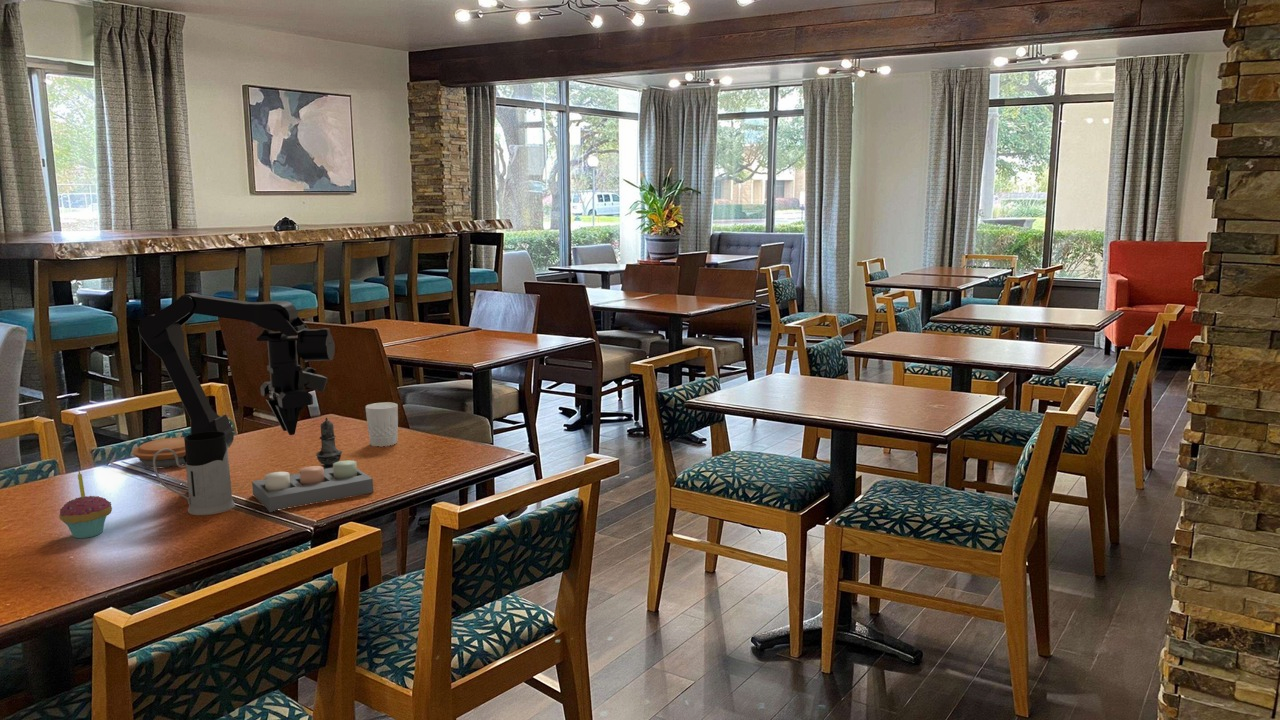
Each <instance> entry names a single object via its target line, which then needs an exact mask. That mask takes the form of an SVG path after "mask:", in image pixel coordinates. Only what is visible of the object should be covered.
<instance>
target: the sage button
mask: <svg viewBox="0 0 1280 720" xmlns="http://www.w3.org/2000/svg"><path fill="white" fill-rule="evenodd" d="M357 465H358V464H357V461H356V460H339V461H338V462H336V463H334V464H333V472H334V478H335V479H336V480H337V479H342V478H348V477H354V476H357V469H358V467H357Z"/></svg>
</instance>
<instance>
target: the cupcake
mask: <svg viewBox="0 0 1280 720" xmlns="http://www.w3.org/2000/svg"><path fill="white" fill-rule="evenodd" d="M77 472H78V474H77V479H78V485H79V492H80V496H79V497H76V498H74V499H73V498H72V499H71V500H69V501H68V502H66V503H65V504H64V505H63V506H62V507H61V508H60V509H59V517H58V518H59V520H60V521H61V522H63V523H64V524H65V525H66V526H67V527H68V529H69V532H70V533H71V535H72V537H73V538H75V539H87V538H93V537H95V536H99V535H100V534H102V533H103V531H104V526H105V522H106V518H107V516H110V514H111V513H112V510H113V507H112V502H111V501H109V500H108V499H106V498H104V497H103V496H101V497H100V496H98V495H87V496H86V493H85V492H86V491H85V487H84V481H83V474H82V473H81V470H80V469H78V470H77Z"/></svg>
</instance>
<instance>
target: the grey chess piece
mask: <svg viewBox="0 0 1280 720" xmlns="http://www.w3.org/2000/svg"><path fill="white" fill-rule="evenodd" d="M320 435H321V436H319V439H320V443H321V447H320V451H318V452H315V456H316V458H317V461H318V463H320V464H321V465H320V466H322V467H323V468H324V469H327V468H333V464H334V463H336V462H339V461H341V457H342V454H343V451H342V450H341V449H338V448H337V446H336V440H335V439H336V437H337V436H336V435H335V430H334V423H333V422H332V421H330V420H329V419H328V418H327V417H325V418H324V421H323V422H322V423H320Z"/></svg>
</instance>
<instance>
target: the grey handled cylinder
mask: <svg viewBox="0 0 1280 720" xmlns="http://www.w3.org/2000/svg"><path fill="white" fill-rule="evenodd" d="M184 441H185V452H186V464H184V465H179V461H178V456H177V454H176V453H175V452H174V451H173V450H171V449H167V448H165V449H161V450H159V451H158V452H157V453H156V454H155V455H154V457H153V467H154V468H153V472H154V474H155V476H156V478H157V479H158V481H159V483H160V484H161V485H162V486H163V487H164V488H165V489H167V490H169V491H171V492H173V493H174V494H177V495H179V496H180V497H183V498H184V499H186V500H187V504H188V508H187V513H188V514H190V515H193V516H209V515H215V514H220V513H223V512H228V511H230V510H232V509H234V508H235V506H236V503H235V501H234V500H233V494H232V493H233V491H232V481H231V473H230V471H231V470H230V461H229V459H230V458H229V448H228V447H227V443H226V435H225V433H224V432H218V431H211V432H200V433H195V434H191V433H190V434H188V435H186V436H184ZM165 450H168V451H171V452H172V453H173V454H174V456H175V459H176V464H177V466H176V467H179V468H185V473H186V480H187V491H188V496H186V495H184V494H183V493H181V492H180V491H177V490H175V489H174V488H172V487H170V486H169V485H167V484H166V483H165V482H164V481H163V479H162V478H161V476H160V475H159V473H158V471H157V468H156V465H155V459H156V456H157V455H158V454H159V453H160V452H162V451H165Z"/></svg>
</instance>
